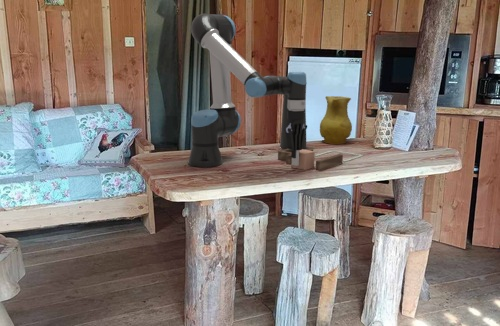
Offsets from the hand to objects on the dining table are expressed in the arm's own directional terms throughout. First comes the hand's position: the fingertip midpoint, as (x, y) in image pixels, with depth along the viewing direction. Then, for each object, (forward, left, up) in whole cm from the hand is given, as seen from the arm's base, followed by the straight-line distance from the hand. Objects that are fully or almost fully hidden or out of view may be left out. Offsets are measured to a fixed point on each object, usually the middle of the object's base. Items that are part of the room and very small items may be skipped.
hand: (295, 165), depth 208 cm
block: (0, +6, -2) cm, 6 cm away
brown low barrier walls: (-4, +15, -2) cm, 15 cm away
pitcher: (-20, +64, -2) cm, 67 cm away
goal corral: (0, +35, -2) cm, 35 cm away
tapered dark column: (-28, +36, -2) cm, 45 cm away
